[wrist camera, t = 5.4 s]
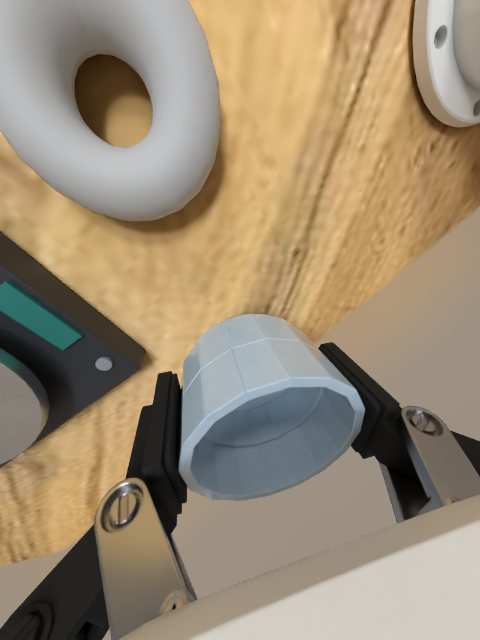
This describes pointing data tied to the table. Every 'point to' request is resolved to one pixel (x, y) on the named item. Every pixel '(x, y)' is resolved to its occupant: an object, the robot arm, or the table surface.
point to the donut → (69, 127)
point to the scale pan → (19, 407)
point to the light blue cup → (261, 410)
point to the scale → (59, 337)
